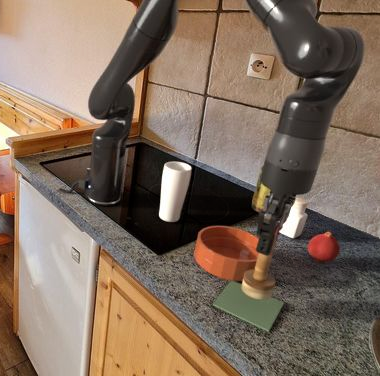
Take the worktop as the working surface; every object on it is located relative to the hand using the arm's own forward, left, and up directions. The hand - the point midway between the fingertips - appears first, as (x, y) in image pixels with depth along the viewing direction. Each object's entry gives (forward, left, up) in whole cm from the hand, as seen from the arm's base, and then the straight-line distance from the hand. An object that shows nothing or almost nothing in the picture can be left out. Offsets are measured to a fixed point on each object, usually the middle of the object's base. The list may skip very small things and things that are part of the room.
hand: (264, 249), depth 72 cm
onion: (+7, +26, -13) cm, 30 cm away
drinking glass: (-27, +21, -13) cm, 37 cm away
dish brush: (+1, 0, -9) cm, 9 cm away
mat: (0, 0, -13) cm, 13 cm away
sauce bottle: (-10, +44, -13) cm, 47 cm away
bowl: (-8, +11, -13) cm, 19 cm away
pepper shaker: (-1, +35, -13) cm, 37 cm away
